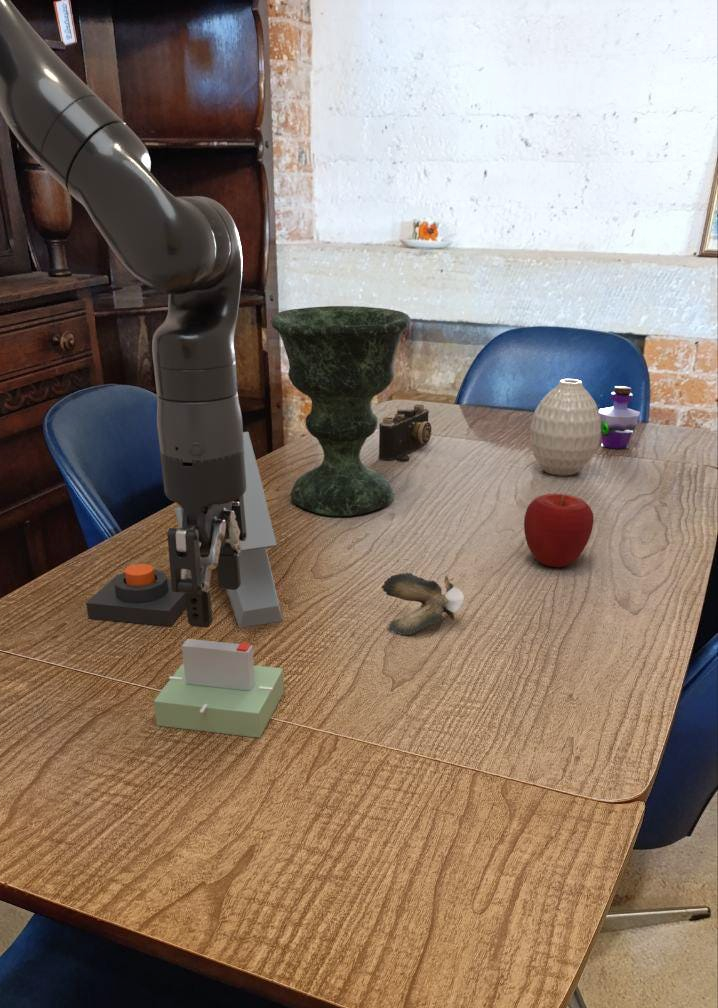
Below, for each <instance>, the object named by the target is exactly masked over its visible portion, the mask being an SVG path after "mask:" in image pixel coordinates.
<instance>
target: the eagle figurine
mask: <svg viewBox="0 0 718 1008" xmlns="http://www.w3.org/2000/svg"><path fill="white" fill-rule="evenodd" d="M449 581H450V579H449V576H448V574H446V575H444V585H445V593H443V594H442V587H441V586H440V585H439V584H438V583H437V582H436V581H435V580H427V579H425V578H423V577H420V576H417V575H414V574H413V573H411V572H405V573H404V572H402V573H398V574H397V573H396V574H393V575H390V576H389V577H387V579H386V580H384V582H383V584H382V585H381V589H382V591H383V592H385V595H387V596H390V597H393V598H397V599H401V600H404V601H407V602H408V601H409V602H418V603H421V604H420V606H419V607H418V608H417V609H415V610H413V611H410V612H408V613H407V614H405V615H403V616H401V617H399V618H396V619H393V620H391V621H390V623H389V624H388V627H387V630H388V632H392V634H393V633H394V634H398V635H404V636H407V635H410V634H414V633H417V632H418V631H419V630H422V629H424V628H425V627H427V626H431V625H436V624H437V623H439V622H440V621H441V620H442V618H443V614H444V613H445V614H446V615H448V617H449V619H450V620H455V614H456V613H457V612H458V611H460V609H461V608H462V607H463V606H464V602H465V594H464V592H463V591H462V590H461V589H459V588H458V587H456V586H454V584H453V583H452V582H449Z"/></svg>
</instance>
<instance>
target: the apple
mask: <svg viewBox="0 0 718 1008" xmlns="http://www.w3.org/2000/svg"><path fill="white" fill-rule="evenodd" d="M594 519H595V518H594V513H593V509H592V507H591V506H590V505H589V504H588V503H587V502H586V500H584V499H582V498H580V497H577V496H575V495H570V494H565V493H546V494H542V495H541V494H540V495H538V496H537V497H536V498H534V499H533V500H531V502H530V503H529V504H528V506H527V507H526V511H525V514H524V520H523V530H524V537H525V540H526V544H527V548H528V549H529V551H530V553H531V554H532V555H533V557H534V558H535V559H536V560H537V561H539V563H541V564H542V565H544V566H547V567H551V568H552V567H553V568H563V567H567V566H569V565H571V564H572V563H574V562H575V561H576V560H577V559H578V558H580V556H581V554H582V553H583V551H584V550H585V548H586V547H587V544H588V543H589V541H590V538H591V534H592V532H593V526H594V521H595V520H594Z"/></svg>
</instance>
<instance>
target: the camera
mask: <svg viewBox="0 0 718 1008" xmlns="http://www.w3.org/2000/svg"><path fill="white" fill-rule="evenodd" d="M429 413H430V410H429V409H428V408H425V405H424V404H414V405H413V408H412V409H397V411H396V413H395V414H394V417H389V416H388V417H387V416H386V417H383V418H382V422H380V423H379V424H378V425H379V426H378V427H379V428H378V429H379V431H378V432H379V434H378V435H379V436H378V437H379V438H378V459H379V460H381V461H385V462H386V461H388V462H390V461H394V460H396V459H397V461H399V462H408V461H409V460H410V454H412V451H414V450H417V449H419V448H421V447H423V446H425V445H427V444H428V443H429V441H430V439H431V436H432V430H433V429H432V424H431V422H429V416H430V415H429Z"/></svg>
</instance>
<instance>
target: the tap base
mask: <svg viewBox="0 0 718 1008" xmlns="http://www.w3.org/2000/svg"><path fill="white" fill-rule="evenodd" d="M284 676H285V675H284V668H282V667H273V666H264V665H263V666H262V665H255V664H254V677H255V684H254V686H253V687H252V689H251V691H246V690H237V689H228V688H219V687H210V686H201V685H192V684H186V681H185V672H184V662H182V663H181V664H180V666H179V667H178V669H177V670H176V671H175V672H174V674H173V675H172V676H171V675H170V676H168V681H167V683H166V684H165V686H164V687H163V688H162V689H161V690H160V692H159V693H158V694H157V696H156V697H155V698H154V699H153V708H154V716H155V724H156V726H157V727H166V728H172V729H173V728H174V729H180V730H190V731H199V732H206V733H216V734H223V735H230V736H231V735H232V736H239V737H240V736H241V737H249V738H257V739H260V738H261V737H262V735H263V733H264V731H265V729H266V727H267V726H268V723H269V721H270V720H271V718H272V716H273V714H274V712H275V710H276V708H277V706H278V705H279V703H280V700H281V699H282V698H283V695H284V693H285V679H284Z"/></svg>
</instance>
